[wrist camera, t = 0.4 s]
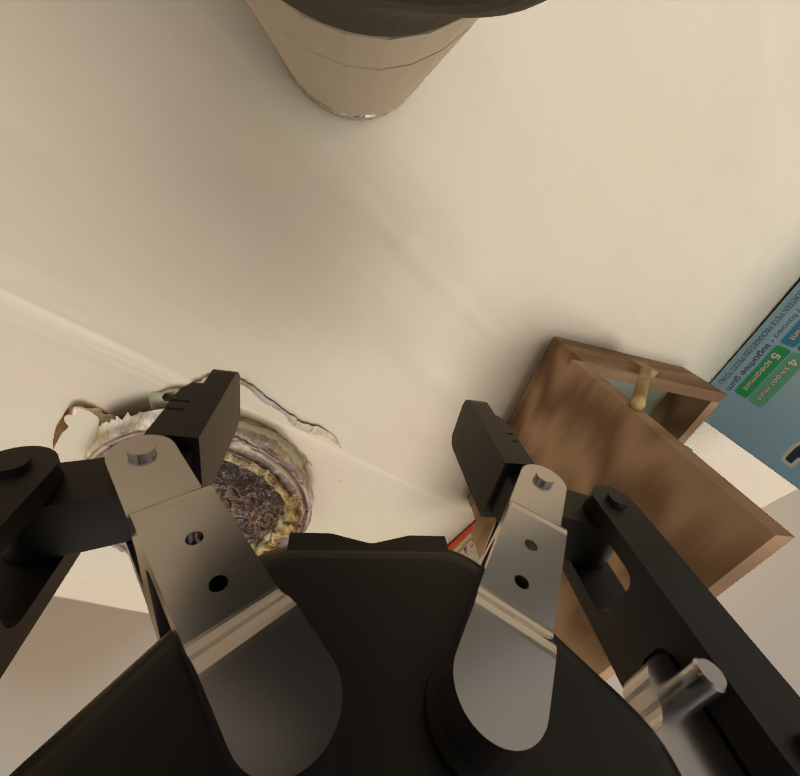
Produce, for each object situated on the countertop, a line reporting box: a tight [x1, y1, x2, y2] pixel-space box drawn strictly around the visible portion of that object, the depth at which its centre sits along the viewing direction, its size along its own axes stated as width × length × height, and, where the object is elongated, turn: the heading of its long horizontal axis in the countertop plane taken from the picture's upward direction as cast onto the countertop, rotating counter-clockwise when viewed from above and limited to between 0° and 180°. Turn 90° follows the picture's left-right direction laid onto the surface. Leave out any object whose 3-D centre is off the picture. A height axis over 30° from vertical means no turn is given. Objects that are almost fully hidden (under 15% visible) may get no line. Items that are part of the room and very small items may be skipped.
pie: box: [53, 376, 343, 556], centre depth 36 cm, size 28×27×5 cm
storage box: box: [468, 337, 794, 681], centre depth 31 cm, size 24×17×21 cm
